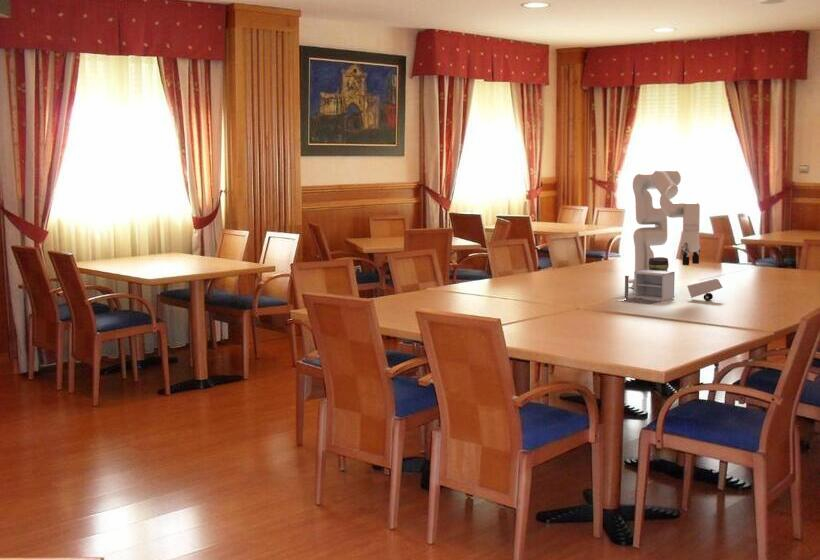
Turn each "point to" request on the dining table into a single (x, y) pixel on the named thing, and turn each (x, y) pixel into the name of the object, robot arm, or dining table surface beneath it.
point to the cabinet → (654, 285)
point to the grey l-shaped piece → (635, 300)
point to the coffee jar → (658, 264)
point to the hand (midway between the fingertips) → (690, 264)
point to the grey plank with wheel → (704, 288)
